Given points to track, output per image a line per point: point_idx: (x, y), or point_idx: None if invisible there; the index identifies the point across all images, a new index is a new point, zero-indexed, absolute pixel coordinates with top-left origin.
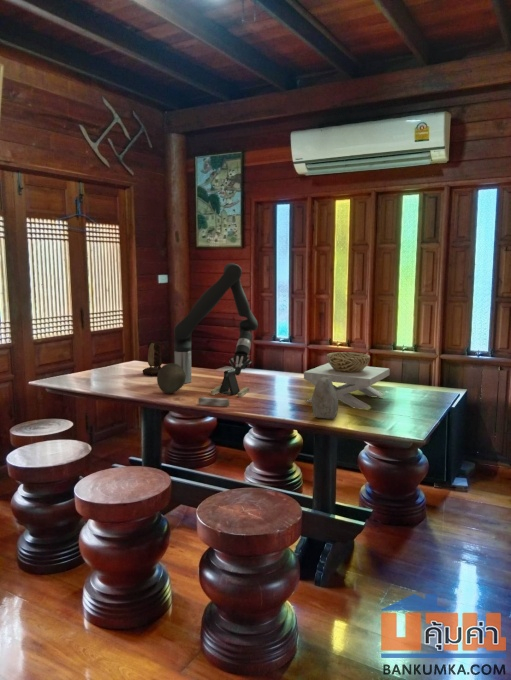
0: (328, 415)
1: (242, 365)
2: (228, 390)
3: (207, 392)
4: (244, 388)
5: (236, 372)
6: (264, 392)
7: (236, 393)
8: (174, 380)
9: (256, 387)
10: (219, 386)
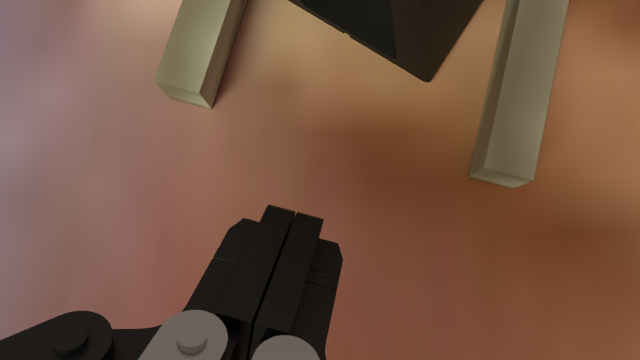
0: None
1: (91, 351)
2: (399, 53)
3: (620, 24)
4: (213, 15)
5: (300, 217)
6: (11, 43)
7: None
8: None
9: (62, 302)
10: (523, 114)
